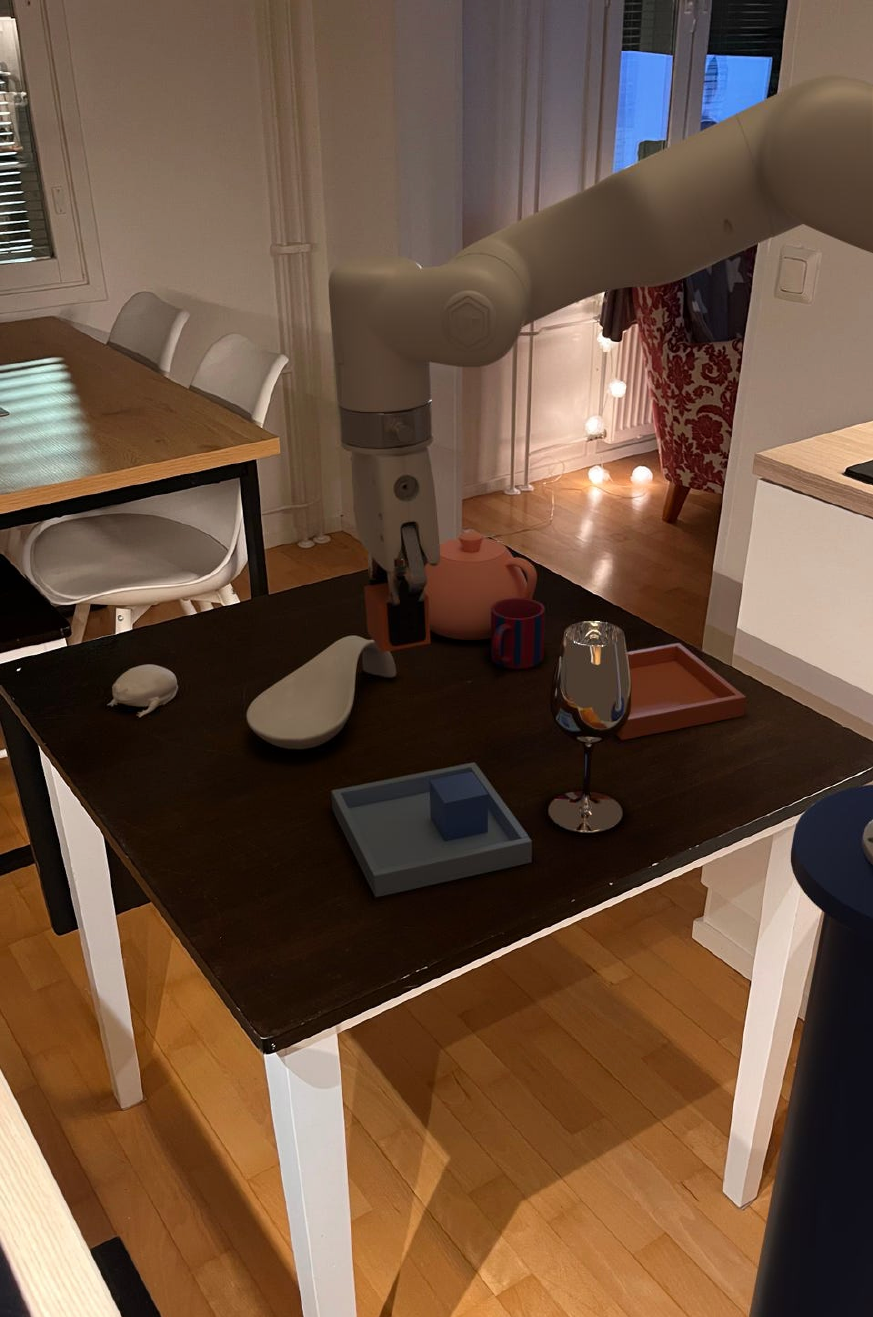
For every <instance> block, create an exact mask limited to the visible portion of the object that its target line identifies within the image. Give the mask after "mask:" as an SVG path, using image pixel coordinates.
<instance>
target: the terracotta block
mask: <svg viewBox="0 0 873 1317" xmlns="http://www.w3.org/2000/svg"><path fill="white" fill-rule="evenodd" d="M400 582H401V580H400V581H398V587H399V585H400ZM363 590H364V600H365V613H366V614H365V615H366V616H365V617H366V627H367V628H366V629H367V634H368V635H369V637H370V638H371V640H374V642H375V643H376V644H377V646H378V647H379V649H380V650H381V651H382V652H387V651H389V652H391V651H396V650H403V649H407V648H413V647H418V646H424V645H430V644H431V630H430V621H429V600H428V596H427V594H426V593H425V592H424V593H425V600H424V605H425V626H426V639H425V640H424V641H422V642H417V643H411V644H406V645H400V646H392V645H391V643H390V642H389V629H388V614H387V602H391V599H390V592H389V584H388V583H383V584H377V585H371V586H370V585H366V586H364V589H363Z"/></svg>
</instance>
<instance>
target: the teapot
mask: <svg viewBox="0 0 873 1317" xmlns="http://www.w3.org/2000/svg"><path fill="white" fill-rule="evenodd" d="M402 565H405V562H404V559H402ZM424 568H425V572H426V576H427V585H426V586H425V587H424V592H425V593H426V594H427V596H428V600H429V621H430V632H433V633H435V634H437V635H439V636H442V637H445V638H449V639H454V640H462V641H463V640H465V641H477V640H478V641H480V640H487V639H491V607H492V605H493V604H495V603H496V602H498V601H501V600H504V599H510V598H526V599H531V600H533V597H534V593H535V589H536V588H537V582H538V581H537V580H538V573H537V569H536V568H535V566H534V565H533V564H532V563H531V562H530V561H528V560H527V559H525V558H522V557H514V556H513V555H512V553H511V551H510V550H509V549H508V548H507V547H506V546H505V545H504V544H503V543H502V542H499V541H498V540H495V539H492V538H486V537H484V535H483V534H482V533H480V532H476V531H467V532H462V533H460V534H459V536H458V538H454V539H450V540H446V541H444V542H443V543H441V544H440V561H439V563H438V564H437V565H436V566H431V565H430V564H428V562H427V561H426V564H424ZM523 572H524V573H525V575H526V578H527V580H526V578H525V575H524V573H523ZM403 575H404V576H405V580H406V576H407V573H406V574H403Z"/></svg>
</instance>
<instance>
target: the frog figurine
mask: <svg viewBox="0 0 873 1317" xmlns="http://www.w3.org/2000/svg"><path fill="white" fill-rule="evenodd" d="M178 690H179V685H178V680H177V677H176V674H174V673H173V672H172V670H169V669H168V668H166V667H163V666H160V665H156V664H142V665H138V666H135V667H132V668H129V669H128V670H127V671H125V672H123V673H122V674H121V675H120V676H119V677H118V678H117V679H116V680H115V682H114V683H113V685H111V693H112V697H113V699H112V700H111V701H110V702H109V703H107V704H106V706H108V707H109V706H111V707H112V708H113V707H114V706H115V705H116V706H119V705H118V704H123V705H126V706H131V707H148V708H147V709H145V710H144V709H142V710H141V711H137V714H136V717H137V716H138V718H141V717H143V716H145V715H147V714H150V713H151V712H153V711H154V710H156V708H158V707H159V706H165V705H166V704H167V703H169V702H170V701H171V700H173V699H174V698H175V697H176V695H177V693H178Z"/></svg>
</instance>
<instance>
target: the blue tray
mask: <svg viewBox="0 0 873 1317" xmlns="http://www.w3.org/2000/svg"><path fill="white" fill-rule="evenodd" d="M468 772H472V773H473V774H474V775H475V777H476V778H477V780H478V781H479V782H480V784H481V785H482V787H483V788H484V790H485V791H486V792H487V794H488V832H487V833H482V834H478V835H473V836H468V837H464V838H459V839H455V840H450V841H445V840H444V839H443V837H442V836H441V834H440V832H439V831H438V829H437V827H436V826H435V824H434V823H433V821H432V819H431V815H430V783H429V780H433V779H438V778H443V777H448V776H453V775H458V774H463V773H468ZM330 793H331V803H332V812H333V814H334V816H335V818H336V820H337V823H338V824H339V826H340V829H341V831H342V832H343V835H344V836H345V838H346V840H347V843H348V845H349V847H350V849H351V851H352V853H353V855H354V857H355V859H356V861H357V863H358V865H359V867H360V869H361V871H362V873H363V876H364V877H365V879H366V882H367V883H368V885H369V887H370V890H371V891H372V894H373V896H374V897H375V898H379V897H384V896H388V895H392V894H397V893H401V892H407V891H411V890H414V889H419V888H423V887H424V888H425V887H429V886H433V885H438V884H442V883H445V882H450V881H455V880H459V879H465V878H469V877H473V876H477V875H482V874H486V873H490V872H495V871H499V870H504V869H508V868H512V867H513V868H514V867H517V866H521V865H526V864H531V863H533V855H532V854H533V840H532V839H531V838H530V836H529V835H528V833H527V832H526V831H525V829H524V828H523V826H522V825H521V824H520V822H519V821H518V820H517V818H516V817H515V815H514V814H513V813H512V811H511V810H510V808H508V806H507V805H506V803H505V801H503V799H502V797H501V796H500V795H499V794H498V792H497V790H495V788H494V787H493V785H492V784H491V783H490V781H489V779H488V778H487V777H486V775H485V774H484V773H483V772H482V770H481V769H480V767H479V766H478V765H477V763H476V762H470V763H464V764H459V765H454V766H449V767H445V768H444V767H443V768H438V769H433V770H428V771H424V772H418V773H413V774H409V775H403V776H398V777H392V778H388V779H383V780H378V781H373V782H368V783H363V784H358V785H353V786H348V787H343V788H337V789H333V790H331V791H330Z"/></svg>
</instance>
